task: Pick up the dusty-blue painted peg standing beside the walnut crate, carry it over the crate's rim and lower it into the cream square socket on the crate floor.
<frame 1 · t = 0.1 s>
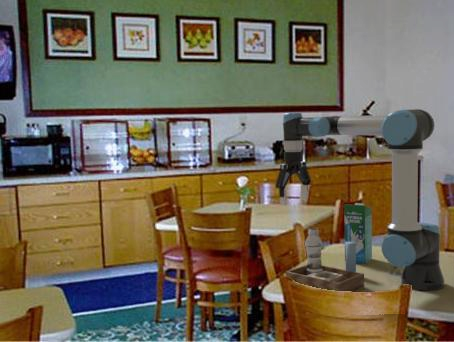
hand: (294, 202, 238), 28 cm above the table, fingers open, 13 cm apart
plastic bottle: (314, 280, 226), on the table, touching crate
milk carton: (358, 260, 253), on the table
crate: (324, 285, 218), on the table
peg: (350, 275, 230), on the table
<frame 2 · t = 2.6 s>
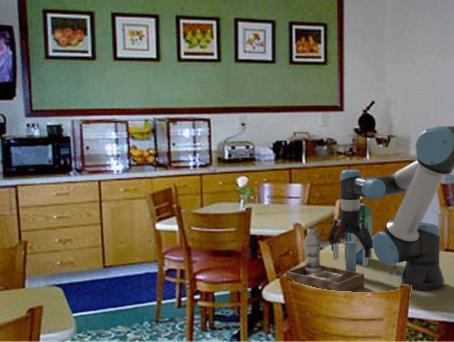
hand: (350, 262, 230), 5 cm above the table, fingers open, 13 cm apart
plastic bottle: (313, 279, 226), resting on crate
everything else where it was.
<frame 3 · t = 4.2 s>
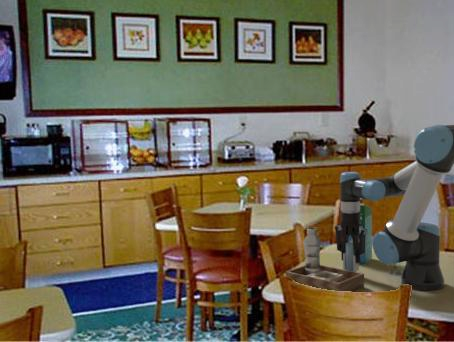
hand: (350, 269, 230), 2 cm above the table, fingers closed on peg, 4 cm apart
peg: (351, 275, 230), on the table, touching gripper
everything else where it was.
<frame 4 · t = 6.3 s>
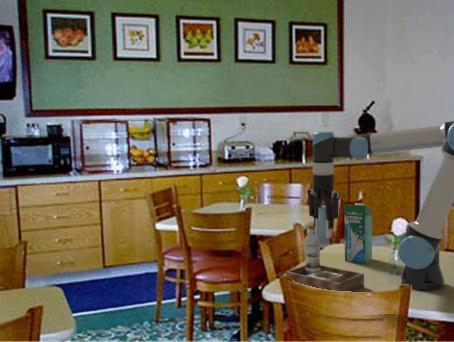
hand: (323, 236, 216), 19 cm above the table, fingers closed on peg, 4 cm apart
peg: (323, 241, 216), point 17 cm above the table, touching gripper
everything else where it was.
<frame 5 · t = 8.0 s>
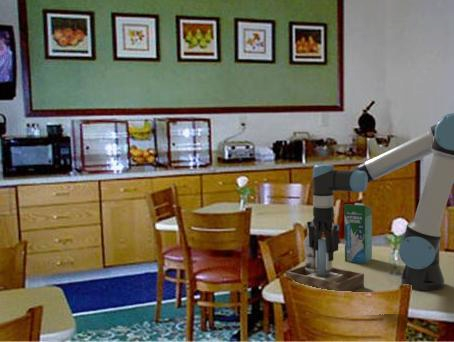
hand: (323, 268, 217), 7 cm above the table, fingers closed on peg, 4 cm apart
peg: (323, 273, 217), point 5 cm above the table, touching gripper
everything else where it was.
when the fingers open (5 cm above the table, at t = 8.9 s): peg drops 2 cm, resting on crate.
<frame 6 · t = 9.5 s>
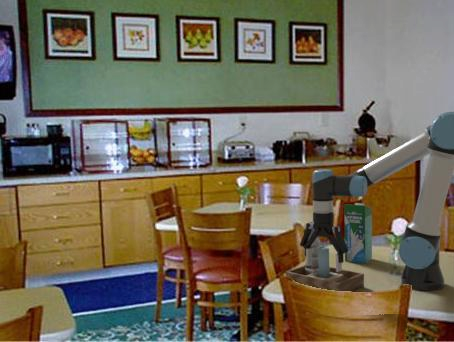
hand: (323, 268, 217), 7 cm above the table, fingers open, 13 cm apart
plastic bottle: (313, 279, 226), resting on crate, touching gripper
peg: (324, 283, 218), point 1 cm above the table, touching crate
everything else where it was.
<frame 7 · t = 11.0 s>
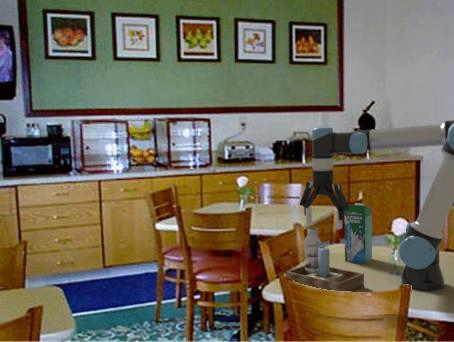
hand: (323, 226, 215), 22 cm above the table, fingers open, 13 cm apart
plastic bottle: (312, 279, 226), resting on crate
everything else where it was.
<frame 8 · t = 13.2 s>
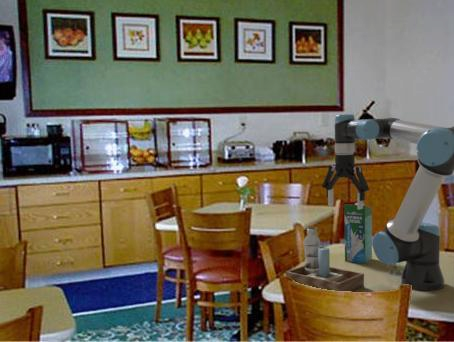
hand: (345, 207, 230), 27 cm above the table, fingers open, 13 cm apart
nothing on the table moved.
at the end: peg 0.0 cm off-centre on the crate, point 1.0 cm above the crate's base; peg tilted 0°; the gripper is holding nothing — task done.
